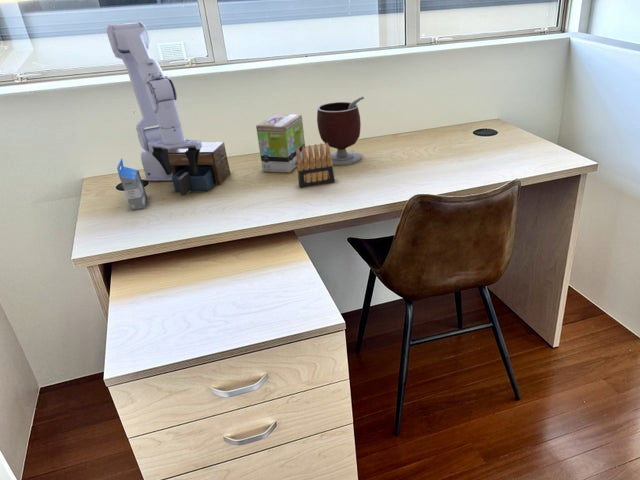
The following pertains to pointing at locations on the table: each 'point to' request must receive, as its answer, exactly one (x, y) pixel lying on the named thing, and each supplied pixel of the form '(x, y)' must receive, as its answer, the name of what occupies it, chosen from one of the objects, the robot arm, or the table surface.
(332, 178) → the ammunition clip
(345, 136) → the mate gourd
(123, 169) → the label tape box
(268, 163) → the tea box
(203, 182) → the storage box
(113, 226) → the table surface
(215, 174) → the drawer pedestal
